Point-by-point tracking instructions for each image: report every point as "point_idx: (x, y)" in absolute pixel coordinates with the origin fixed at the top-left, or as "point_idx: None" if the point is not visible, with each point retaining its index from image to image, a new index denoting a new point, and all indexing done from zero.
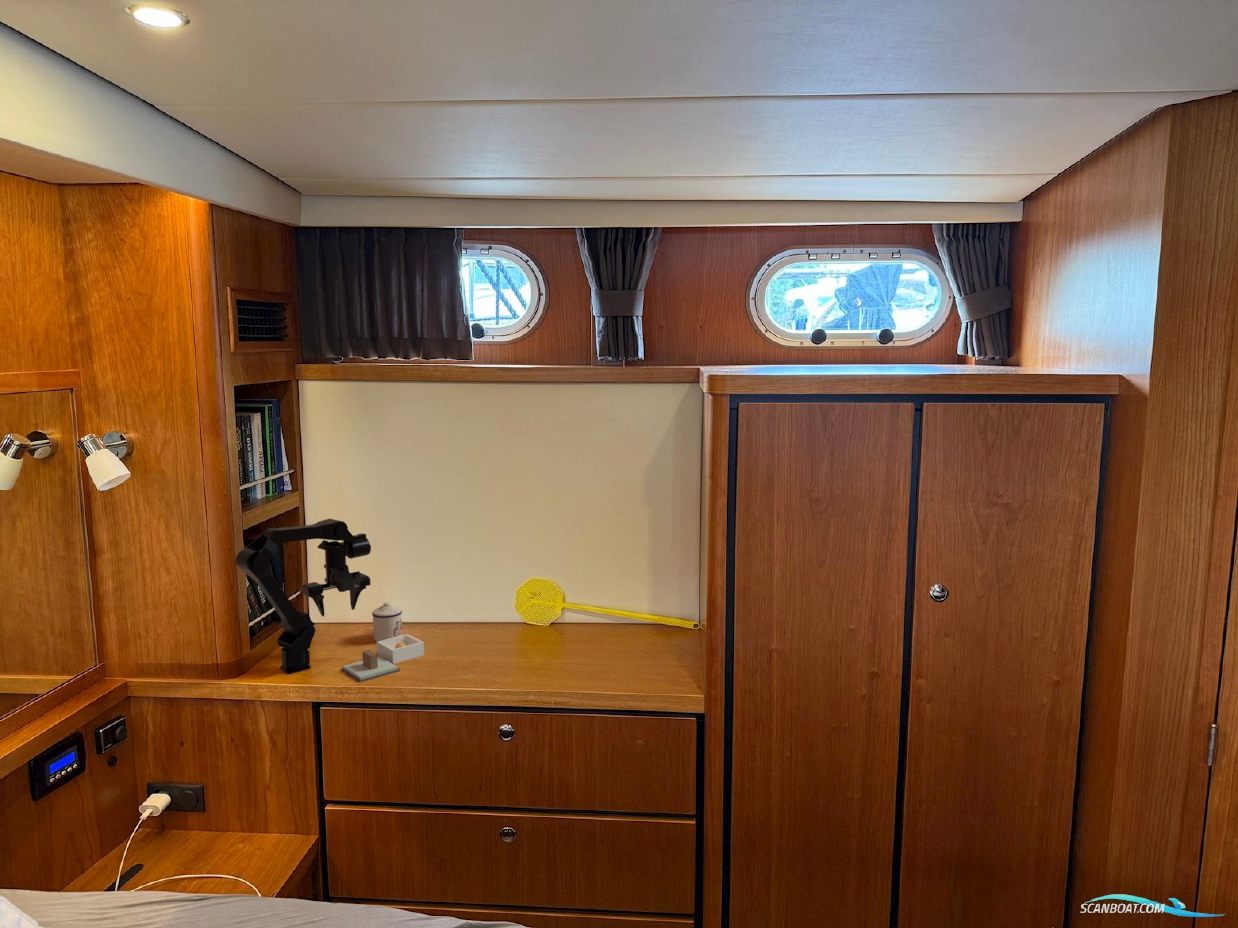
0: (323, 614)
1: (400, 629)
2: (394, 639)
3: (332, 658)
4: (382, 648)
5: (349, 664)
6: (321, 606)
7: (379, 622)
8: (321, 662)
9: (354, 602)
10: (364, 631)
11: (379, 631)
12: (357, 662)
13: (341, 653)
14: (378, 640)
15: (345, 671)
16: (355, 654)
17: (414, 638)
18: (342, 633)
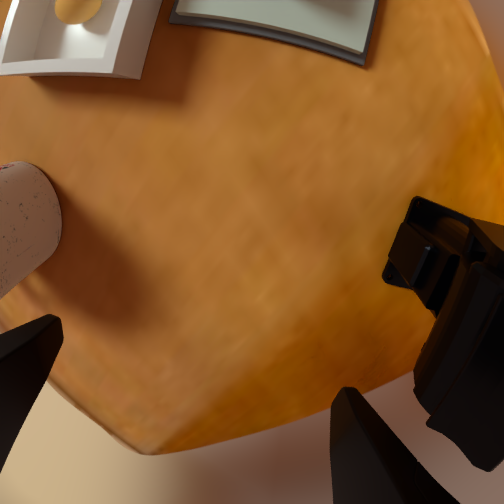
0: (357, 397)
1: None
2: (45, 60)
3: (288, 209)
4: (136, 17)
5: (333, 39)
6: (407, 464)
7: (1, 225)
8: (346, 212)
9: (8, 347)
10: None
11: (30, 211)
12: (294, 26)
13: (224, 226)
14: (56, 204)
15: (372, 25)
16: (195, 162)
17: (14, 5)
18: (112, 370)
